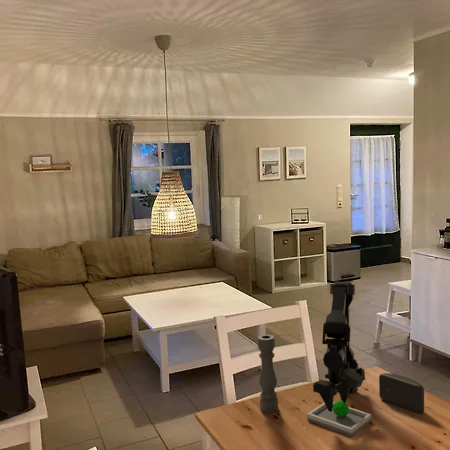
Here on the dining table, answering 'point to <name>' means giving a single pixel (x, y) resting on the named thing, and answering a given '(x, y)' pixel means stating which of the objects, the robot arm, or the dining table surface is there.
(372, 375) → the dining table surface
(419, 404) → the leaning round-cornered charcoal block
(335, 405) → the polyhedron
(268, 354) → the candle holder
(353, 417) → the tray
